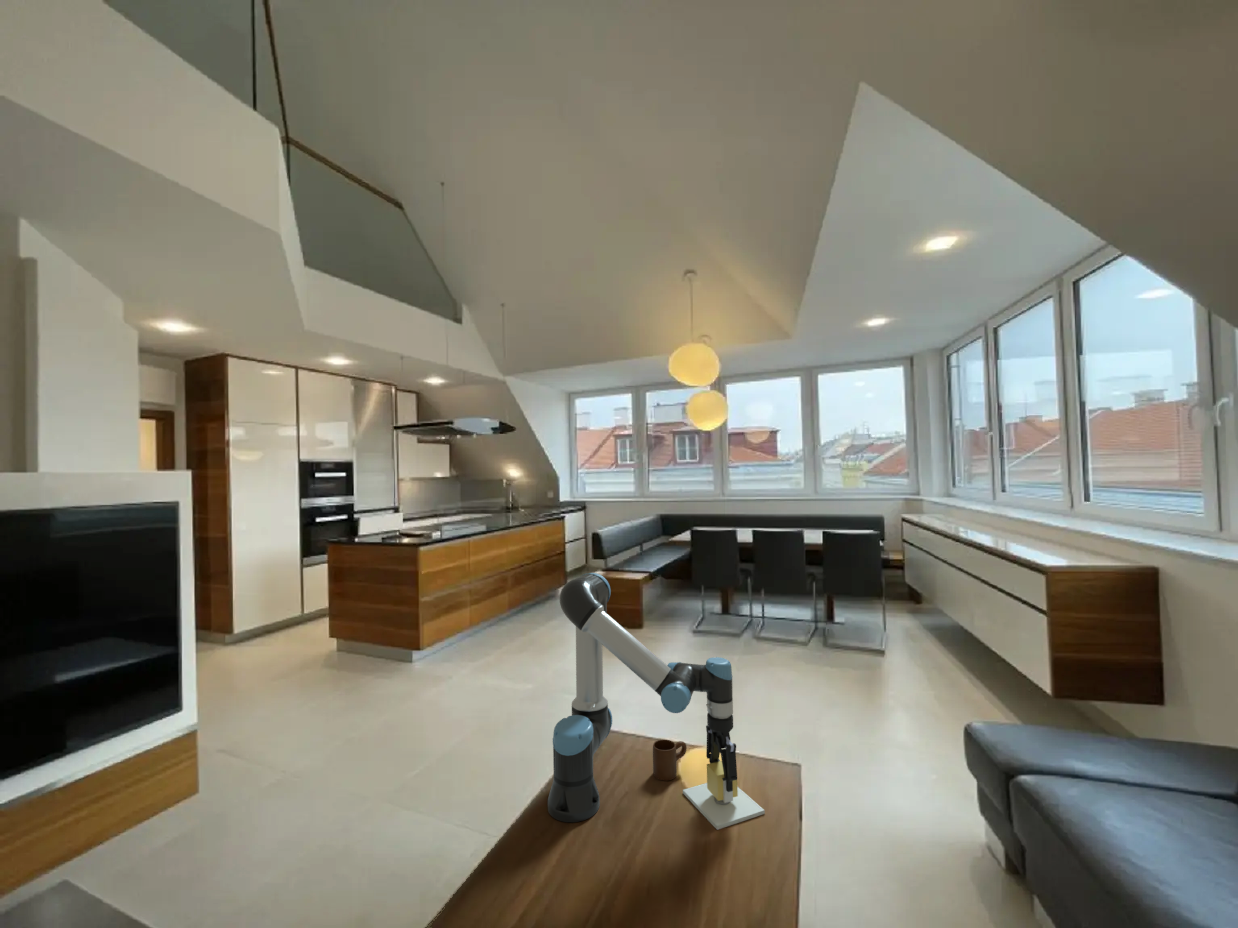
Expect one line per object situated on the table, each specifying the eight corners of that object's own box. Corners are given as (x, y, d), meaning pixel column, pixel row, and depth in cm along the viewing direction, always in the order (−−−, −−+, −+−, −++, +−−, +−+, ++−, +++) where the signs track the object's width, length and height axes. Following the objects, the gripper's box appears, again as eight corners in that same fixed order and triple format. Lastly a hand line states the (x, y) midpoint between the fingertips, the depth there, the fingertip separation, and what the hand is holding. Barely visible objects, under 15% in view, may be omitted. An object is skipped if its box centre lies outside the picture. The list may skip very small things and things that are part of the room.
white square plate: (682, 793, 151) (682, 763, 152) (726, 780, 158) (726, 752, 158) (717, 829, 135) (716, 796, 135) (764, 813, 141) (763, 782, 142)
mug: (680, 762, 168) (680, 734, 169) (692, 774, 161) (692, 744, 162) (649, 771, 163) (648, 741, 164) (660, 783, 156) (659, 752, 157)
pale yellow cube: (726, 783, 151) (725, 759, 151) (737, 796, 144) (736, 771, 145) (707, 788, 149) (706, 763, 149) (718, 800, 142) (717, 775, 143)
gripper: (693, 701, 156) (695, 778, 155) (725, 730, 137) (727, 816, 136) (715, 698, 158) (716, 773, 157) (749, 725, 140) (751, 811, 138)
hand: (721, 793), depth 146 cm, fingers closed on pale yellow cube, 6 cm apart
